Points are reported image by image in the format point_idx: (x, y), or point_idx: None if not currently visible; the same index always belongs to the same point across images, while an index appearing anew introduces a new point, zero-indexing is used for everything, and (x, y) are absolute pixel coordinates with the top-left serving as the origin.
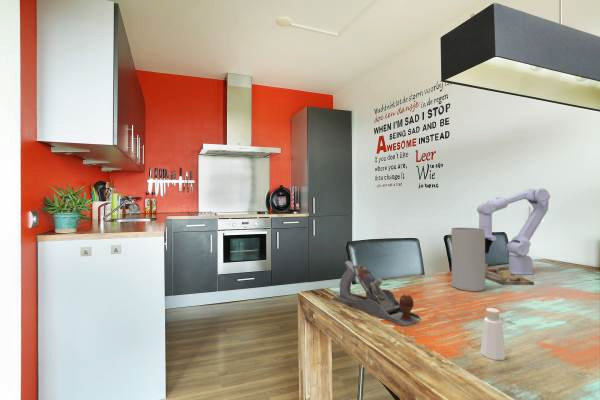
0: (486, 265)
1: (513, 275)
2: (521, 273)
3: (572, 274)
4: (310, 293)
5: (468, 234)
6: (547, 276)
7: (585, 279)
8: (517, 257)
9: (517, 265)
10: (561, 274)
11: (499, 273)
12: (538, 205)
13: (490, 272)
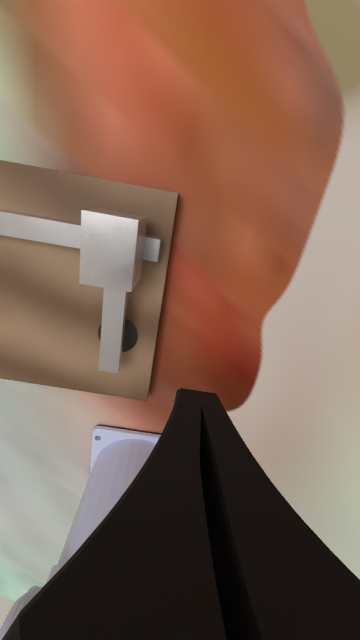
0: (83, 269)
1: (6, 369)
2: (95, 460)
3: None
4: None
5: None
6: (55, 520)
7: (4, 582)
8: (64, 560)
9: (88, 492)
10: None
11: (67, 328)
12: None
13: (1, 222)
